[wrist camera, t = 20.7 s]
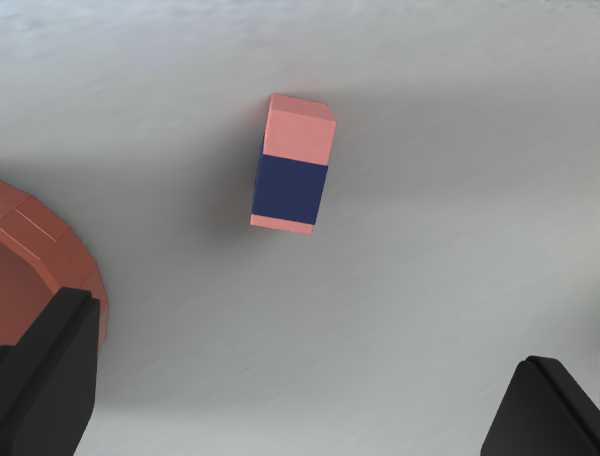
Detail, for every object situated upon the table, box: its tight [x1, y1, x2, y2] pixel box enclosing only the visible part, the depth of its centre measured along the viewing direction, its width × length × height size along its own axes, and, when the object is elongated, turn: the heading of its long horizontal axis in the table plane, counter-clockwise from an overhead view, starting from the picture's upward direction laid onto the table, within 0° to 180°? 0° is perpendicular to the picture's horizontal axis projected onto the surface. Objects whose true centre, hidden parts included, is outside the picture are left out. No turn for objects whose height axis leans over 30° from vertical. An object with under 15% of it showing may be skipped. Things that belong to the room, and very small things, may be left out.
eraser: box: [251, 94, 337, 235], centre depth 28 cm, size 6×3×5 cm, turn 169°
